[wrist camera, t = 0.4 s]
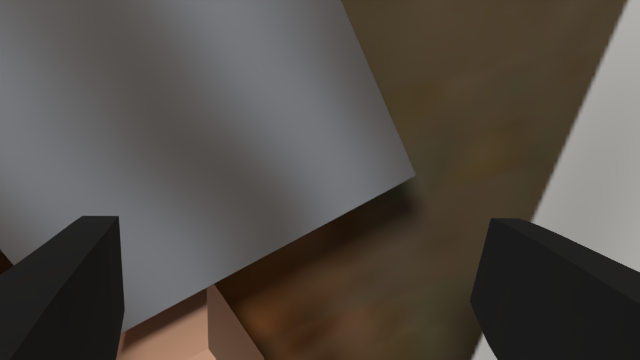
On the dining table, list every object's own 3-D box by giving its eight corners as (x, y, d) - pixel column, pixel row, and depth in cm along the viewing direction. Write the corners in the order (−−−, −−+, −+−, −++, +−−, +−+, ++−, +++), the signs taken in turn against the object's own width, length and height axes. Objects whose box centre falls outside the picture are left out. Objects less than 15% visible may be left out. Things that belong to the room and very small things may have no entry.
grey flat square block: (107, 287, 21) (87, 351, 17) (-124, -8, 16) (-218, -6, 13) (378, 142, 21) (416, 175, 18) (229, -188, 17) (238, -237, 13)
